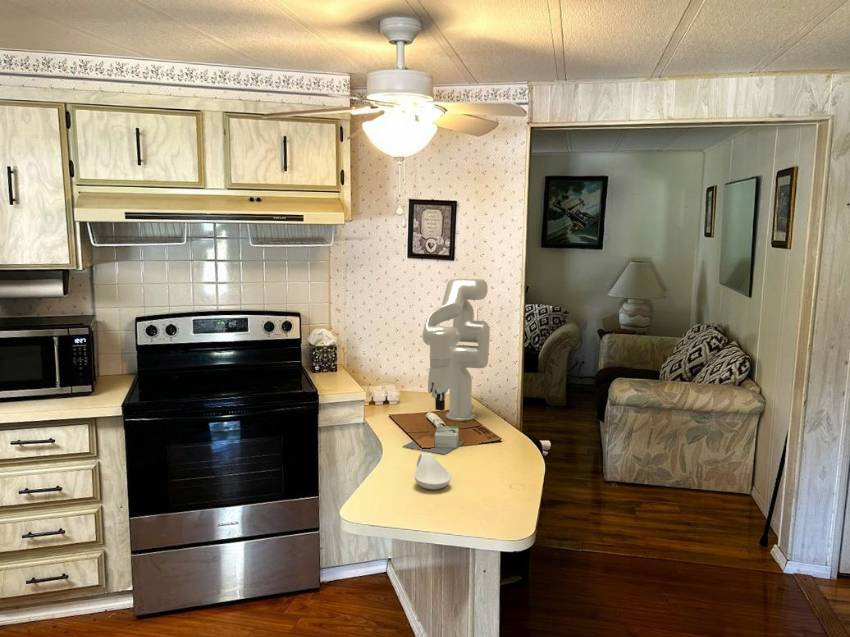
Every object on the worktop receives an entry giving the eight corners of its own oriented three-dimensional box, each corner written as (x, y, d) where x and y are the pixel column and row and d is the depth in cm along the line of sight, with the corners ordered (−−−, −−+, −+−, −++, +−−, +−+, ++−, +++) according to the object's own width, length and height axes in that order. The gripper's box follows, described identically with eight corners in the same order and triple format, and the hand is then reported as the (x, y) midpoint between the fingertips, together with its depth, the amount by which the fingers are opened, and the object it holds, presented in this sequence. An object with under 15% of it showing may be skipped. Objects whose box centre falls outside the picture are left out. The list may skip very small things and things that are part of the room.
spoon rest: (454, 492, 215) (455, 470, 214) (417, 495, 212) (417, 473, 211) (439, 466, 238) (439, 446, 237) (405, 469, 235) (405, 448, 234)
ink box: (459, 425, 266) (457, 435, 255) (459, 438, 267) (457, 448, 255) (436, 425, 267) (434, 435, 256) (436, 437, 268) (434, 447, 256)
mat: (423, 436, 271) (423, 435, 271) (464, 443, 263) (464, 442, 262) (402, 447, 258) (402, 446, 258) (444, 455, 249) (444, 454, 249)
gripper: (440, 358, 268) (440, 403, 271) (421, 365, 256) (421, 413, 258) (457, 360, 265) (457, 406, 267) (439, 367, 252) (439, 416, 255)
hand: (440, 409), depth 263 cm, fingers closed
